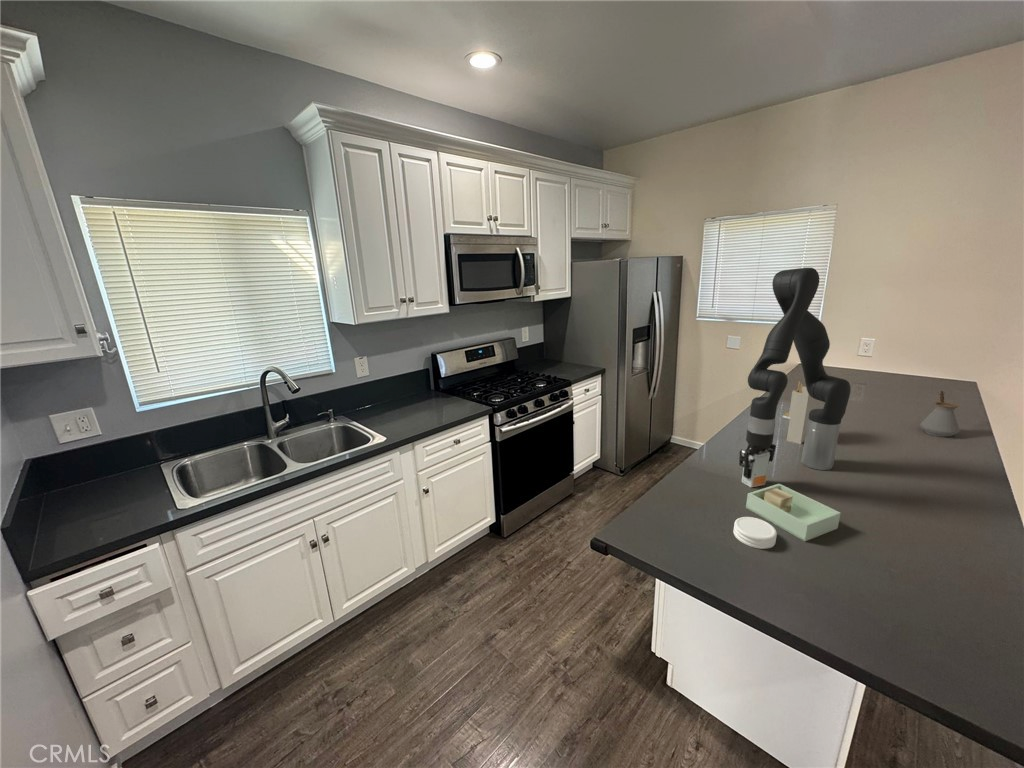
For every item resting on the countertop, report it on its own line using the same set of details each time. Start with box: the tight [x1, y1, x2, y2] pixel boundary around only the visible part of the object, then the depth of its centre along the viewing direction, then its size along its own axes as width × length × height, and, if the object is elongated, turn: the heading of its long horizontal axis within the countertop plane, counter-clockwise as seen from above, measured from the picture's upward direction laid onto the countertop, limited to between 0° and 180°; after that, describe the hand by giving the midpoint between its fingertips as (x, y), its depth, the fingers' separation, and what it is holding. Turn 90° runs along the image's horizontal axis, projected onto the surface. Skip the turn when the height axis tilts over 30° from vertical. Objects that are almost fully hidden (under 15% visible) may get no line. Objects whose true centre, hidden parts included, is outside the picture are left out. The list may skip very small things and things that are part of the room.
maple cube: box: [764, 488, 793, 512], centre depth 121 cm, size 5×5×5 cm
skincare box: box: [741, 452, 770, 488], centre depth 135 cm, size 6×4×12 cm
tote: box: [745, 483, 842, 542], centre depth 117 cm, size 14×18×5 cm
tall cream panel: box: [782, 381, 817, 445], centre depth 168 cm, size 8×12×26 cm
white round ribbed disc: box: [732, 516, 778, 550], centre depth 110 cm, size 10×10×4 cm
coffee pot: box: [919, 390, 961, 438], centre depth 172 cm, size 21×12×15 cm, turn 140°
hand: (754, 475), depth 136 cm, fingers closed on skincare box, 6 cm apart
